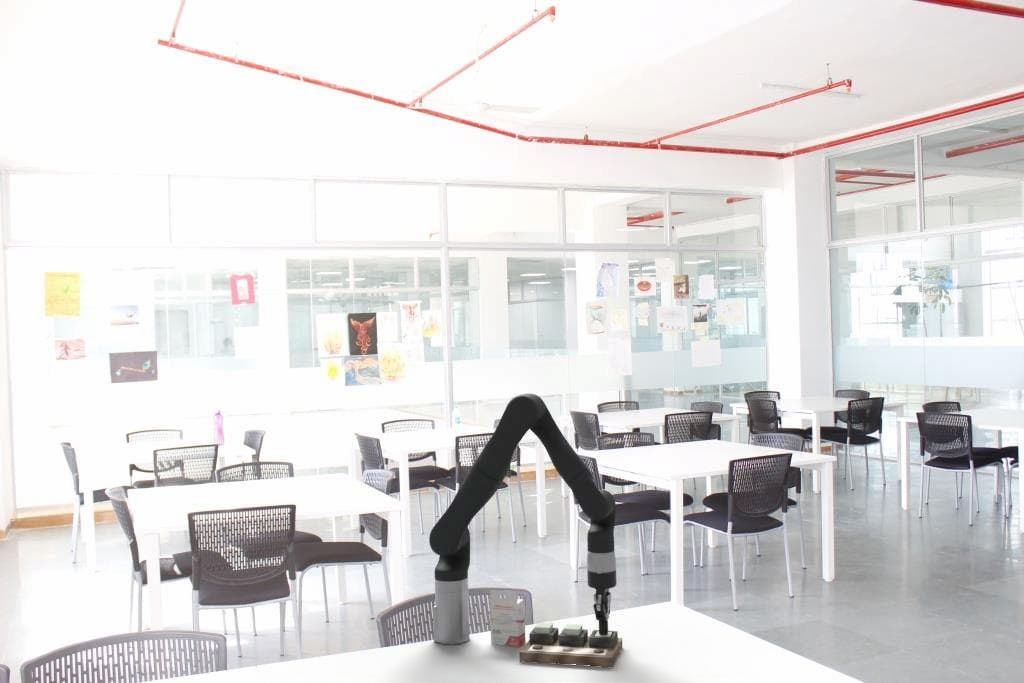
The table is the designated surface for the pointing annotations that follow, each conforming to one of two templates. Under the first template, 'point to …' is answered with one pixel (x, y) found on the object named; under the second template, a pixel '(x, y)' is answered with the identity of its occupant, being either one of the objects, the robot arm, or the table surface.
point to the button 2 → (603, 635)
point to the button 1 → (544, 628)
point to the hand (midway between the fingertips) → (603, 634)
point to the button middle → (573, 630)
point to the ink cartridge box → (507, 619)
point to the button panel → (572, 648)
